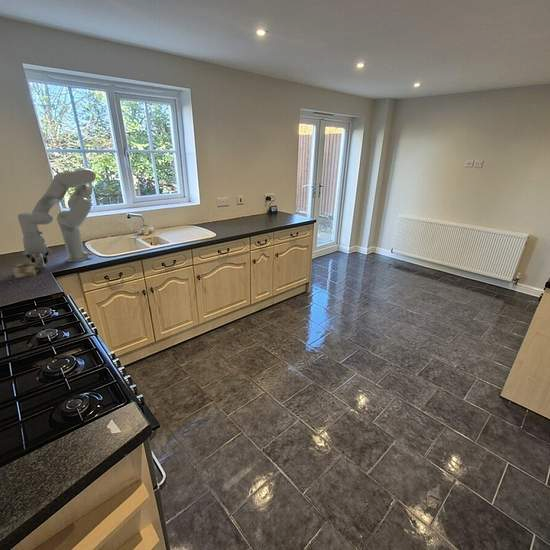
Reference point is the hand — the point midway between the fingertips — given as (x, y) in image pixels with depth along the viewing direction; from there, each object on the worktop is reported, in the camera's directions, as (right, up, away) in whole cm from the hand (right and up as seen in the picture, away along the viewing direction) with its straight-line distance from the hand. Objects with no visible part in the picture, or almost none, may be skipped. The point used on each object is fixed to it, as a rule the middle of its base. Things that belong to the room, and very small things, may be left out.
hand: (40, 263), depth 181 cm
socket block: (+2, -6, -9) cm, 11 cm away
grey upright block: (0, -2, +1) cm, 2 cm away
